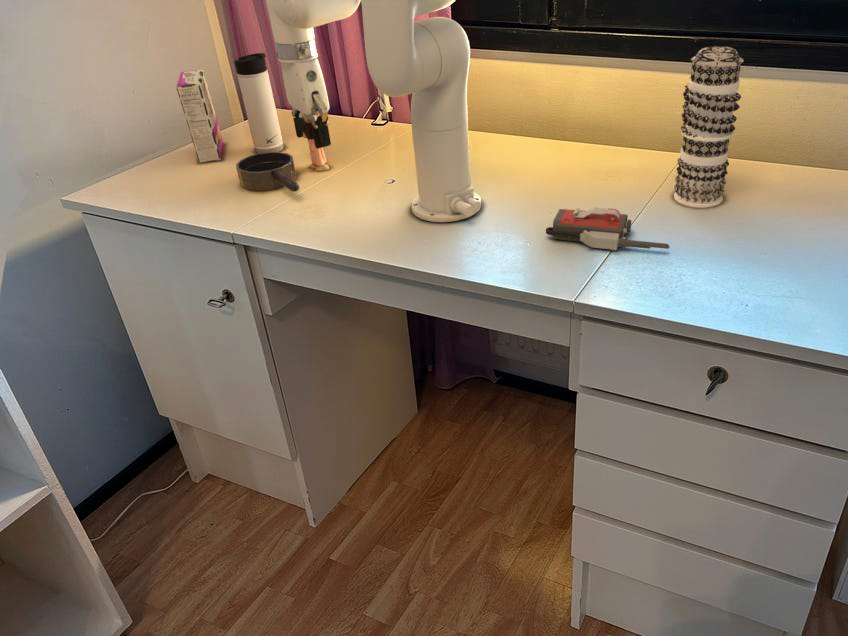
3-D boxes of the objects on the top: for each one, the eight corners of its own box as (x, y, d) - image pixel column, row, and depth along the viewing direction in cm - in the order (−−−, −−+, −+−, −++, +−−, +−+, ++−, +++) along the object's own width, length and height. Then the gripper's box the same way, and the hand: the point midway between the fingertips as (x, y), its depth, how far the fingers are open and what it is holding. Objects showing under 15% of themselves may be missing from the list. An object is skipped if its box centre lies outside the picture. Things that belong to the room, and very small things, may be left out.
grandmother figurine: (337, 168, 151) (326, 105, 143) (322, 173, 148) (310, 111, 141) (315, 159, 155) (303, 99, 148) (300, 165, 153) (287, 104, 145)
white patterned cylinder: (661, 200, 130) (677, 52, 116) (688, 183, 136) (706, 40, 121) (708, 213, 125) (730, 60, 110) (734, 195, 130) (758, 47, 116)
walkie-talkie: (541, 245, 119) (667, 258, 113) (542, 220, 116) (670, 232, 111) (554, 221, 125) (673, 232, 120) (554, 197, 123) (676, 208, 117)
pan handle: (301, 191, 136) (299, 182, 135) (292, 194, 135) (290, 184, 134) (280, 176, 143) (278, 167, 142) (271, 178, 142) (269, 170, 141)
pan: (305, 181, 146) (302, 162, 143) (253, 197, 141) (248, 177, 138) (283, 166, 153) (279, 147, 151) (232, 180, 148) (227, 161, 146)
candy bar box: (201, 146, 165) (180, 71, 156) (224, 143, 166) (204, 68, 156) (197, 164, 156) (174, 85, 147) (221, 161, 157) (200, 82, 147)
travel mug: (278, 155, 158) (257, 58, 147) (250, 154, 160) (227, 58, 148) (290, 144, 163) (270, 50, 152) (262, 144, 165) (241, 50, 153)
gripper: (335, 54, 134) (350, 147, 144) (295, 39, 146) (311, 126, 156) (297, 62, 131) (315, 157, 141) (260, 46, 142) (279, 135, 153)
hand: (313, 140), depth 148 cm, fingers closed on grandmother figurine, 8 cm apart
